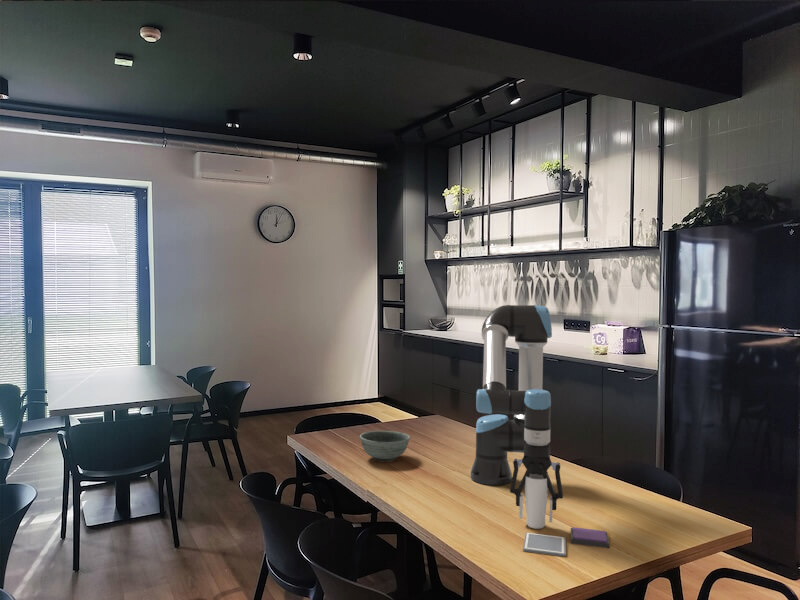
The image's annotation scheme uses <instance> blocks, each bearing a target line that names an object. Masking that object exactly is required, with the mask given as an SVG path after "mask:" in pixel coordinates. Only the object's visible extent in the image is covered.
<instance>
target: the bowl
mask: <svg viewBox="0 0 800 600" xmlns="http://www.w3.org/2000/svg"><path fill="white" fill-rule="evenodd" d="M410 436H411V435H409V434H407V433H405V432H401V431H394V430H392V431H391V430H371V431H370V430H369V431H365V432H363V433H360V435H359V438H360V441H361V446H362V448H363V451H364V452H365V453H366V454H367V455H368V456H370V457H371V458H372V459H373V461H376V462H381V463H382V462H383V463H389V462H394V461H396V459H397V458H399V457H400V456H402V455H403V454H404V453H405V452H406V450H407V448H408V445H409V441H410V439H411V437H410Z"/></svg>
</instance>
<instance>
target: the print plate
mask: <svg viewBox="0 0 800 600" xmlns="http://www.w3.org/2000/svg"><path fill="white" fill-rule="evenodd" d="M523 540H524V541H523V546H522V547H523V548H522V551H523V552H529V553H533V554H534V553H535V554H542V555H549V556H557V557H562V558H564V557H566V554H567V552H566V550H567V548H566V544H567V543H566V540H567V539H566V537H565V536H564V537H563V536H558V535H557V536H556V535H548V534H541V533H534V532H525V534H524V539H523Z"/></svg>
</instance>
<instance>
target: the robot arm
mask: <svg viewBox="0 0 800 600" xmlns="http://www.w3.org/2000/svg"><path fill="white" fill-rule="evenodd" d="M550 314H551V313H550V310H549V308H548V307H547V306H544V305H536V304H534V305H533V304H532V305H531V304H530V305H527V304H526V305H524V304H523V305H522V304H521V305H520V304H519V305H518V304H516V305H515V304H514V305H513V304H511V305H510V304H505V305H501V306H498V307H497V308H495V309H493V310H492V311H491V312H490V313H489V314H488V315H487V316H486V318H485V319H484V322H483V323H482V326H481V339H482V340H483V365H482V366H483V367H482V369H483V372H482V374H483V375H482V389H481V388H478V389H477V390H476V396H475V397H476V398H475V399H476V403H475V405H476V407H475V408H476V411H477V412H478V413H481V414H488V415H484V416H481V417H479V418H477V421H476V422H475V423H476V426H475V427H476V428H475V435H476V436H475V457H474V461H473V464H472V467H471V470H470V479H471V480H472V481H473V482H476V483H478V484H482V485H488V486H502V485H507V484H509V483H510V488H509V493H511V494H514V495H515V505H516V506H515V507H519V516H518V518H519V519H523V516H524V515H523V513H524V511H523V510H524V509H523V508H524V494H523V493H522V491H523V489H524V488H525V480H526V476H527V477H529V475H530V473H531V474H538V475H543V478H544V479H546V478H547V487H548V492H549V494H550V496H549V521H548V522H549V523H553V511H556V510H557V503H558V502H557V500H558V499H563V497H564V493H563V485H562V479H561V474H560V471H561V462H553V461H552V460H551V445H550V442H551V407H552V397H551V393H550V392H549V390H545V389H543V381H544V380H543V379H544V378H543V376H544V373H543V372H544V371H543V370H544V364H543V363H544V347H545V346H546V345H547V344H548V339H551V338H552V336H553V332H552V331H553V329H552V321H551V316H550ZM509 337H510V338H511V337H512V338H513V337H514V343H515V344H516V345H518V390H511V389H510V390H508V389H507V354H506V353H507V349H506V347H507V345H506V343H507V342H506V341H507V340H508V339H509ZM508 415H513V419H509V417H508ZM508 453H520V454H522V453H523V457H522V458H521V459H517V458H514V459H513V462H512V465H513V472H512V469H511V466H510V464H509V460H508ZM522 464H523V466H524V467H525V469H526V470H525V472H524V474H523V476H522V479H521V481H520V483H519V485H518V487H517V488H516V484H517V478H518V473H519V468H520V467H521V466H522ZM550 467H551V468H552V470H553V471H554V475H555V476H554V477H555V481H556V482H555V483H556V488H557V492H556V490H555V488H554V486H553V483H552V481H551V478H550V475H549V472H548V469H549V468H550Z"/></svg>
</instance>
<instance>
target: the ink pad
mask: <svg viewBox="0 0 800 600" xmlns="http://www.w3.org/2000/svg"><path fill="white" fill-rule="evenodd" d="M570 543H571V544H575V545H584V546H591V547H596V548H597V547H600V548H604V549H605V548H606V549H609V548H610V539H609V534H608V531H606V530H598V529H589V528H582V527H570Z"/></svg>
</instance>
